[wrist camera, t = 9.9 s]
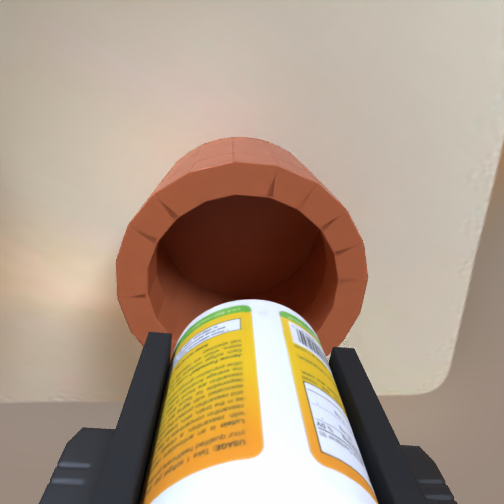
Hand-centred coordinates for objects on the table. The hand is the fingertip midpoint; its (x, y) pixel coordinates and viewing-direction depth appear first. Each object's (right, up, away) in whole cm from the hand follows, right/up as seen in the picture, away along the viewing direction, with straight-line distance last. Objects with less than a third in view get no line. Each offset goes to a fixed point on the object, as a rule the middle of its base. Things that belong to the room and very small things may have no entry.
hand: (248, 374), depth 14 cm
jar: (-1, +6, +15) cm, 16 cm away
